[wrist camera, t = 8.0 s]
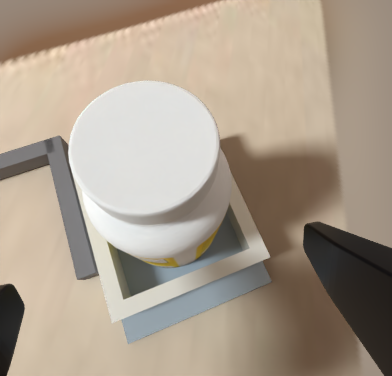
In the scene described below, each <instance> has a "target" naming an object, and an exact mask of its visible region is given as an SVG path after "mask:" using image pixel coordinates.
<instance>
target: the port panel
mask: <svg viewBox="0 0 392 376" xmlns="http://www.w3.org/2000/svg"><path fill="white" fill-rule="evenodd" d="M71 171H72V170H71ZM230 173H231V171H230ZM72 174H73V173H72ZM73 178H74V176H73ZM231 181H232V188H231V197H230V202H229V206H228V209H227V212H226V215H225V217H224V219H223V221H222V223H221V225H220V227H219V229H218V231H217V233H216V235H215V237H214V239H213V242H212V243H211V245H210V246H209V248H208V249H207V250H206V252H205V253H204V254H203V255H202V256H201V257H200V258H198V259H197V260H195V261H194V262H192V263H190V264H188V265H185V266H182V267H177V268H162V267H157V266H153V265H151V264H149V263H146V262H144V261H142V260H140V259H138V258H136V257H134V256H132V255H130V254H128V253H126V252H124V251H122V250H120V249H118V248H116V247H114V246H113V245H112V244H111V243H109V242H108V241H107V240H106V239H105V238H103V237H102V236H101V235H100V234H99V232H98V231H97V230H96V229H95V227H94V226H93V224H92V223H91V221H90V219H89V216H88V214H87V212H86V209H85V206H84V202H83V196H82V189H81V188H80V186H79V185H78V183H77V182H76V180H75V178H74V182H75V186H76V190H77V193H78V197H79V201H80V205H81V209H82V212H83V216H84V220H85V224H86V227H87V231H88V235H89V239H90V243H91V246H92V250H93V254H94V258H95V261H96V265H97V269H98V273H99V277H100V280H101V284H102V288H103V292H104V295H105V299H106V303H107V307H108V311H109V314H110V318H111V322H112V323H114V322H117V321H119V320H122V323H123V327H124V331H125V334H126V338H127V341H128V344H129V343H132V342H134V341H136V340H138V339H141V338H143V337H145V336H148V335H150V334H152V333H155V332H157V331H159V330H162V329H164V328H166V327H169V326H171V325H173V324H176V323H178V322H180V321H182V320H185V319H187V318H189V317H192V316H194V315H196V314H199V313H201V312H203V311H206V310H208V309H210V308H213V307H215V306H217V305H220V304H222V303H224V302H226V301H229V300H231V299H233V298H236V297H238V296H240V295H243V294H245V293H247V292H250V291H252V290H254V289H257V288H259V287H261V286H264V285H266V284H268V283H270V282H272V281H271V279H270V277H269V274H268V272H267V270H266V268H265V266H264V263H263V260H265V259H268V258H270V255H269V253H268V251H267V249H266V246H265V244H264V242H263V240H262V238H261V236H260V233H259V231H258V229H257V227H256V225H255V223H254V221H253V218H252V216H251V214H250V212H249V210H248V208H247V205H246V203H245V201H244V199H243V197H242V195H241V193H240V190H239V188H238V186H237V184H236V182H235V180H234V178H233V175H232V173H231Z"/></svg>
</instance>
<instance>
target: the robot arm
mask: <svg viewBox="0 0 392 376" xmlns="http://www.w3.org/2000/svg"><path fill="white" fill-rule="evenodd" d="M303 247H304V251H305V253H306V255H307V257H308V258H309V260H310V262H311V264H312V266H313V268H314V269H315V271H316V273H317V275H318V277H319V279H320V280H321V282H322V284H323V286H324V288H325V289H326V291H327V293H328V294H329V296H330V297H331V299H332V301H333V302H334V303H335V305H336V306H337V308H338V309H339V311H340V312H341V314H342V315H343V316H344V318H345V319H346V321H347V322H348V324H349V325H350V327H351V328H352V330H353V331H354V332H355V334H356V335H357V337H358V338H359V340H360V341H361V343H362V344H363V345H364V347H365V348H366V350H367V351H368V353H369V354H370V356H371V357H372V359H373V360H374V361H375V363H376V364H377V366H378V367H379V369H380V370H381V372H382V373H383V374H384V376H392V248H389V247H387V246H384V245H381V244H378V243H376V242H373V241H370V240H368V239H365V238H362V237H359V236H357V235H354V234H351V233H348V232H346V231H343V230H340V229H337V228H335V227H332V226H329V225H326V224H324V223H321V222H312V223H307V224H306V225H305V226H304V239H303ZM24 310H25V307H24V303H23V301H22V299H21V297H20V295H19V294H18V292H17V290H16V288H15V287H14V285H12V284H4V285H0V376H7V373H8V370H9V367H10V364H11V361H12V357H13V354H14V350H15V346H16V342H17V338H18V334H19V330H20V326H21V323H22V319H23V315H24Z"/></svg>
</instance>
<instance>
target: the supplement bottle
mask: <svg viewBox="0 0 392 376" xmlns="http://www.w3.org/2000/svg"><path fill="white" fill-rule="evenodd" d="M68 155H69V163H70V167H71V170H72V173H73V176H74V178H75V180H76V182H77V183H78V185H79V186H80V188H81V189H82V196H83V202H84V206H85V209H86V212H87V214H88V216H89V219H90V221H91V223H92V224H93V226H94V227H95V229H96V230H97V231H98V232H99V234H100V235H101V236H102V237H103V238H105V239H106V240H107V241H108V242H109V243H111V244H112V245H113V246H114V247H116V248H118V249H120V250H122V251H124V252H126V253H128V254H130V255H132V256H134V257H136V258H138V259H140V260H142V261H144V262H146V263H149V264H151V265H153V266H157V267H162V268H177V267H182V266H185V265H188V264H190V263H192V262H194V261H195V260H197V259H198V258H200V257H201V256H202V255H203V254H204V253H205V252H206V250H207V249H208V248H209V246H210V245H211V243H212V242H213V239H214V237H215V235H216V233H217V231H218V229H219V227H220V225H221V223H222V221H223V219H224V217H225V215H226V212H227V209H228V206H229V202H230V197H231V188H232V181H231V173H230V168H229V165H228V162H227V159H226V157H225V155H224V153H223V151H222V150H221V148H220V135H219V131H218V127H217V124H216V122H215V119H214V117H213V116H212V114H211V112H210V111H209V109H208V108H207V107H206V106H205V104H204V103H203V102H202V101H201V100H200V99H199V98H197V97H196V96H195V95H193V94H192V93H190V92H189V91H187V90H185V89H183V88H181V87H179V86H176V85H173V84H170V83H166V82H160V81H136V82H131V83H126V84H123V85H119V86H117V87H114V88H112V89H110V90H108V91H106V92H105V93H103V94H101V95H100V96H98V97H97V98H96V99H95V100H93V101H92V102H91V103H90V104H89V105H88V106H87V107H86V108H85V109H84V110H83V112H82V113H81V114H80V116H79V117H78V119H77V121H76V123H75V125H74V127H73V129H72V132H71V135H70V140H69V150H68Z"/></svg>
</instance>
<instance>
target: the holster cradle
mask: <svg viewBox="0 0 392 376" xmlns="http://www.w3.org/2000/svg"><path fill="white" fill-rule="evenodd" d="M68 150H69V147H68V144H67V143H66V142H65V141H64V140H63V139H62V137H61V136H56V137H53V138H50V139H47V140H44V141H40V142H37V143H34V144H31V145H28V146H24V147H21V148H18V149H15V150H12V151H9V152H5V153H2V154H0V180H2V179H5V178H8V177H11V176H14V175H17V174H20V173H23V172H26V171H29V170H32V169H35V168H38V167H41V166H44V165H48V164H50V168H51V172H52V176H53V180H54V185H55V189H56V193H57V197H58V201H59V205H60V210H61V214H62V218H63V222H64V226H65V231H66V235H67V239H68V243H69V247H70V252H71V256H72V260H73V264H74V268H75V272H76V277H77V280H86V279H89V278H91V277H94V276H96V275H99V273H98V269H97V265H96V261H95V258H94V254H93V250H92V246H91V243H90V239H89V235H88V231H87V227H86V224H85V220H84V216H83V212H82V209H81V205H80V201H79V197H78V193H77V190H76V186H75V182H74V178H73V174H72V171H71V167H70V163H69V155H68Z"/></svg>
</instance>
